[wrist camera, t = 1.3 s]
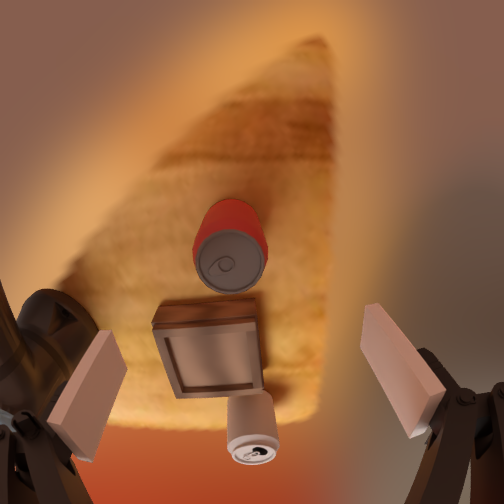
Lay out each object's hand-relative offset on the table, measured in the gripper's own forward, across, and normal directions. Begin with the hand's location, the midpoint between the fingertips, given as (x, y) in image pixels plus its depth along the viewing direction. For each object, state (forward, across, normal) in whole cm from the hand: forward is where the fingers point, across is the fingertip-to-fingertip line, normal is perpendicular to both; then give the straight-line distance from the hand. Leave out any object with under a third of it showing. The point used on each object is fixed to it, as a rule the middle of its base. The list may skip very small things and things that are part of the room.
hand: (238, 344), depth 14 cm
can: (+22, -1, -29) cm, 36 cm away
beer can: (+22, -1, 0) cm, 22 cm away
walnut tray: (+22, -5, -16) cm, 28 cm away
